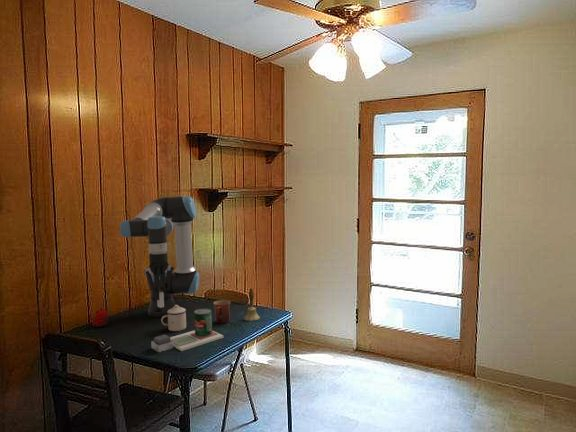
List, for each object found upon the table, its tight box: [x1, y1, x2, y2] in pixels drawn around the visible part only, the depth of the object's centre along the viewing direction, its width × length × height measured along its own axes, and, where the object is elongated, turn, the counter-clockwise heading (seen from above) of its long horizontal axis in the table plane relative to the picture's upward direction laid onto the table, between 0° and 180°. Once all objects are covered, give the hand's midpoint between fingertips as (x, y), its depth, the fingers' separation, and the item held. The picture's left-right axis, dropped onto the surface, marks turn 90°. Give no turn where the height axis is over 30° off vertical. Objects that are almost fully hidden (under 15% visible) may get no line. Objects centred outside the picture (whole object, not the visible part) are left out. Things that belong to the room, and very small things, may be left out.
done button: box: [153, 334, 171, 345], centre depth 180 cm, size 5×5×3 cm
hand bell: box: [243, 288, 261, 322], centre depth 217 cm, size 8×8×16 cm
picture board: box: [169, 329, 224, 352], centre depth 189 cm, size 16×22×1 cm
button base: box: [150, 340, 175, 353], centre depth 180 cm, size 7×7×3 cm
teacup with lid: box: [160, 304, 187, 332], centre depth 204 cm, size 12×9×12 cm
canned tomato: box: [193, 308, 213, 337], centre depth 192 cm, size 8×8×11 cm
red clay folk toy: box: [92, 297, 109, 328], centre depth 211 cm, size 8×7×15 cm
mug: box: [212, 299, 231, 325], centre depth 211 cm, size 12×9×10 cm
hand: (160, 306), depth 179 cm, fingers closed
